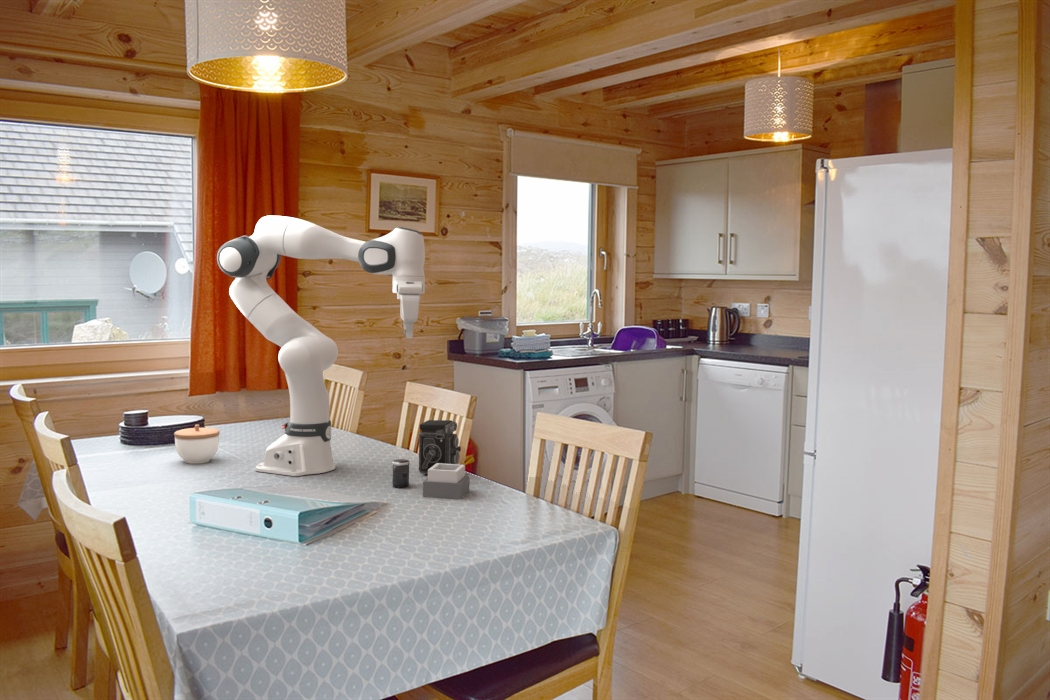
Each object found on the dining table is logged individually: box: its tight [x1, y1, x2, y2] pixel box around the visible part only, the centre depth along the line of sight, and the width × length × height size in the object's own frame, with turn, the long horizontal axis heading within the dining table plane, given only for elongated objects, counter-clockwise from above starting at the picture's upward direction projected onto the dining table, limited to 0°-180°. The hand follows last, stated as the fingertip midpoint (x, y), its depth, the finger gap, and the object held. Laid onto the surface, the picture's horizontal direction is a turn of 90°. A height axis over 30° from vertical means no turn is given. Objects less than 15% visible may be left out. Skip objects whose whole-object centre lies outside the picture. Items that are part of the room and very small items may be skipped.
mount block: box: [422, 463, 470, 500], centre depth 209 cm, size 10×9×7 cm
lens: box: [391, 458, 410, 490], centre depth 216 cm, size 5×5×7 cm
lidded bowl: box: [173, 424, 220, 465], centre depth 241 cm, size 13×13×11 cm
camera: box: [418, 419, 462, 476], centre depth 231 cm, size 10×10×15 cm
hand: (408, 337), depth 221 cm, fingers open, 8 cm apart
